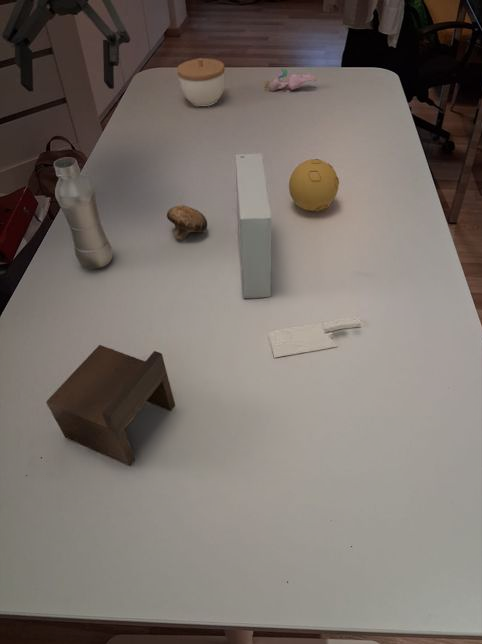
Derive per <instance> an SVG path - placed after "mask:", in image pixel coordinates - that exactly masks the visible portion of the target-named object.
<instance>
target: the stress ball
mask: <svg viewBox="0 0 482 644" xmlns="http://www.w3.org/2000/svg"><path fill="white" fill-rule="evenodd" d="M288 182H289V183H288V191H289V194H290V197H291V199H292V201H293V202H294V204H296V205H297V206H298V207H299V208H301V209H303V210H306V211H309V212H310V211H311V212H315V213H319V212H322V211H325V210H327V209H328V208H329V206H330V205H331V204H332V202H333V201H334V200H335V199H336V196H337V194H338V190H339V185H340V179H339V177H338V174H337V173H336V170H335V169H334V167H333V165H331V164H330V163H329V162H326V161H325V160H321V159H319V158H313V159H308V160H305V161H302V162H300V163H299V164H298V165H297V166H296V167H295V168H294V170H293V171H292V172H291V175H290V177H289V180H288Z"/></svg>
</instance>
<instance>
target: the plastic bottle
mask: <svg viewBox="0 0 482 644" xmlns="http://www.w3.org/2000/svg"><path fill="white" fill-rule="evenodd" d="M53 168H54V171H55V175H56V177H57V178H58V180H57V182H56V184H55V188H54V197H55V199H56V201H57V203H58V205H59V207H60V209H61V211H62V213H63V215H64V218H65V219H66V223H67V225H68V227H69V229H70V233H71V238H72V241H73V247H74V248H73V249H74V254H75V258H76V260H77V261H78V263H79V264H80V265H81V266H83V267H84V268H86V269H88V270H89V269H91V270H97V269H101V268H104V267H106V266H107V265H108V264H109V263H110V262H111V261H112V259H113V247H112V245H111V242H110V241H109V239H108V237H107V235H106V233H105V230H104V228H103V225H102V223H101V219H100V215H99V209H98V203H97V196H96V191H95V186H94V185H93V183H92V182H91V181H90V180H89V179H88V178H87V177H85V176H83V174H81V168H80V166H79V163H78V161H77V159H76V158H74V157H70V156H69V157H67V156H66V157H61V158H58V159H56V160H54V162H53Z"/></svg>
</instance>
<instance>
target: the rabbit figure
mask: <svg viewBox="0 0 482 644" xmlns="http://www.w3.org/2000/svg"><path fill="white" fill-rule="evenodd" d="M281 71H282V73H280V74H279V75H277V77H276V78H274V79H272V80H267V81H264V84H263V90H264V92H266V91H267V87H268V88H269V90H270V91H271V92H275V91H276V90H279V89H280V90H281V89H284V88H286V87H288V88H289V89H290V90H292V91H294V90H296V89H299V88H301V86H302V85H303V84H304V83H306V82H308V81H313V82H318V77H317V76H315V75H313V74H310V73H307V74H303V75H301V74H298V73H294V74H292V75H290V76H289V77H288V79H287V81H286V80H285V79H283V78H285V77H287V75H288V70H287V69H286V68H282V69H281Z"/></svg>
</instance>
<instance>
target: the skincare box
mask: <svg viewBox="0 0 482 644" xmlns="http://www.w3.org/2000/svg"><path fill="white" fill-rule="evenodd" d="M234 156H235V158H234V159H235V182H236V183H235V184H236V188H235V189H236V215H237V237H238V254H239V255H238V256H239V267H240V268H239V269H240V281H241V283H240V284H241V297H242V299H251V298H252V299H254V298H255V299H258V298H270V297H271V289H272V288H271V287H272V286H271V284H272V283H271V282H272V210H271V205H270V200H269V199H270V198H269V191H268V184H267V178H266V177H267V176H266V170H265V165H264V163H265V162H264V158H263V153H237V154H235V155H234Z"/></svg>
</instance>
